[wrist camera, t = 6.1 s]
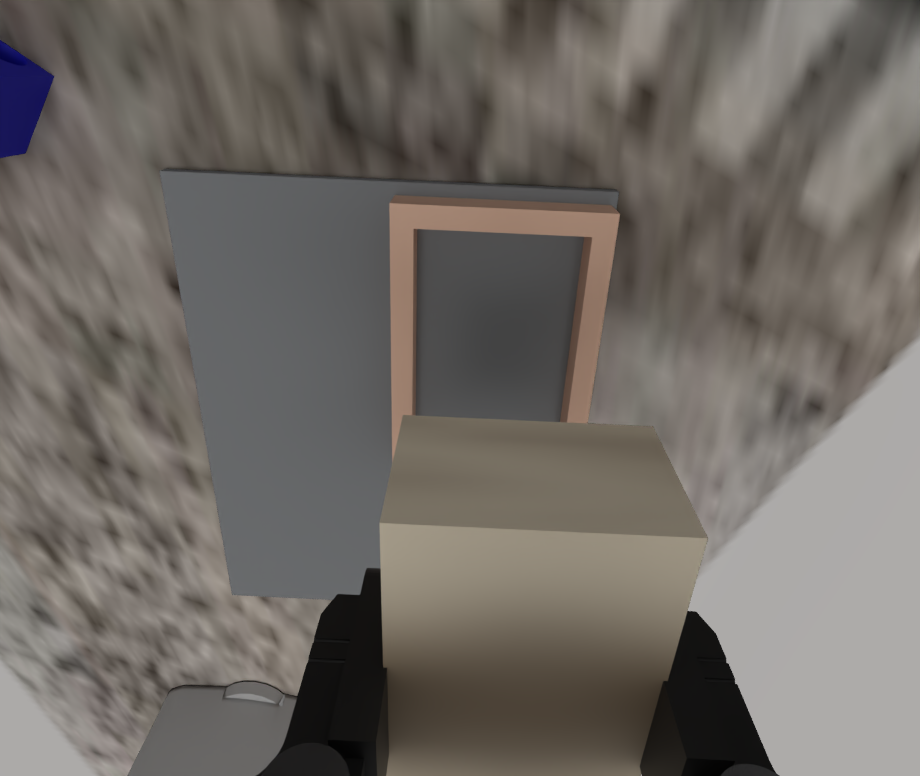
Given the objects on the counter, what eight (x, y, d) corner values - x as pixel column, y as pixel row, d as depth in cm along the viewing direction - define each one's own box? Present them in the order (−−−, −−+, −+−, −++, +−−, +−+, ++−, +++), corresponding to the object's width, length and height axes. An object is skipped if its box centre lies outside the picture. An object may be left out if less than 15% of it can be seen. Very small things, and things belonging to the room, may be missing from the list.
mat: (165, 169, 22) (159, 170, 22) (616, 189, 22) (619, 192, 22) (235, 587, 31) (232, 594, 31) (554, 602, 31) (555, 610, 31)
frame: (394, 195, 22) (389, 203, 20) (611, 205, 22) (619, 214, 20) (396, 459, 27) (392, 480, 26) (572, 468, 27) (577, 489, 25)
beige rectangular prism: (592, 715, 15) (617, 857, 12) (403, 706, 15) (387, 845, 12) (653, 426, 11) (708, 538, 8) (402, 414, 11) (379, 522, 9)
